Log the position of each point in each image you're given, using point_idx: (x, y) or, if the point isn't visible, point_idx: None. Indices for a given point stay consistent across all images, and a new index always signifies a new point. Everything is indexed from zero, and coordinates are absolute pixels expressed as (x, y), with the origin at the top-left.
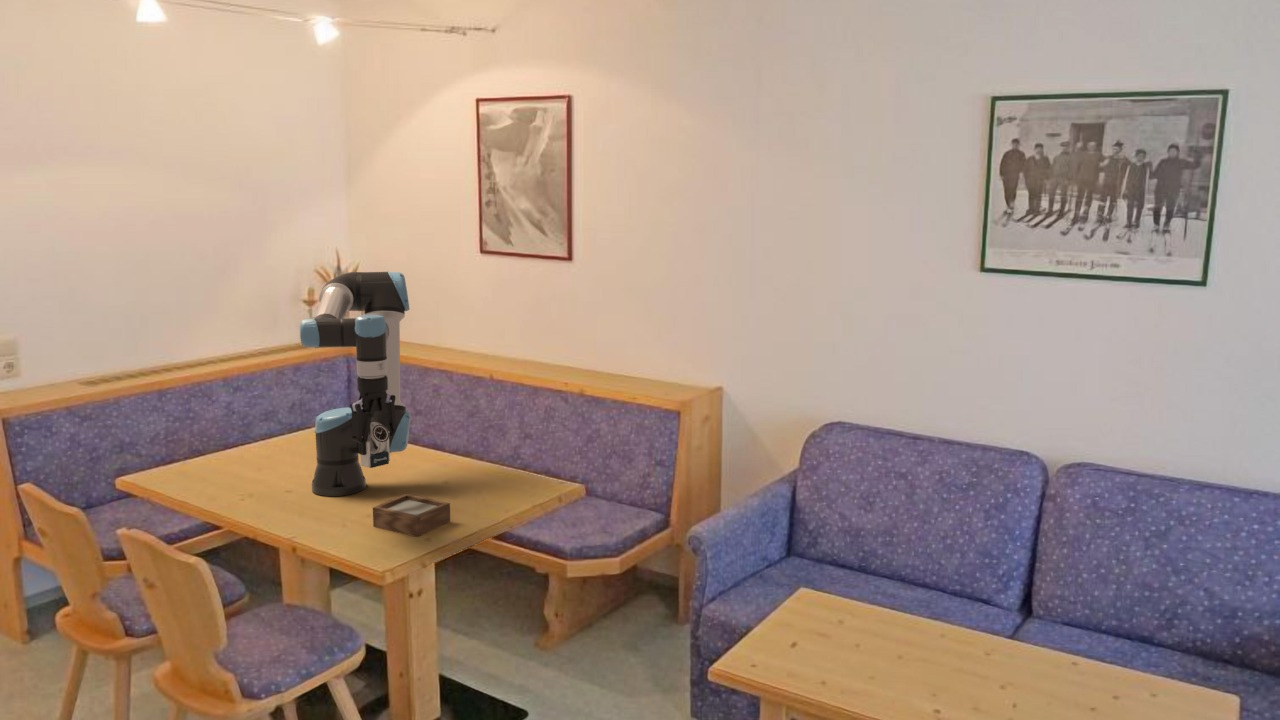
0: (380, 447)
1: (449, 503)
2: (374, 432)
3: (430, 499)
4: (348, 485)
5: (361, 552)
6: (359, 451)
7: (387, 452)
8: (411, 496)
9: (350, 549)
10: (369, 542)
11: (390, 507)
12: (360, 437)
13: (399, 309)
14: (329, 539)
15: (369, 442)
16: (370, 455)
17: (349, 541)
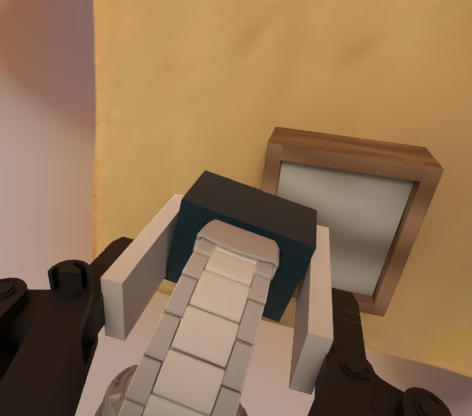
0: (184, 352)
1: (382, 315)
2: None
3: (399, 263)
4: None
5: (133, 196)
6: (108, 250)
7: (272, 318)
8: (415, 200)
9: (132, 165)
10: (183, 180)
11: (319, 171)
12: (9, 359)
13: None
14: (147, 76)
15: (121, 339)
16: (175, 270)
17: (164, 134)
